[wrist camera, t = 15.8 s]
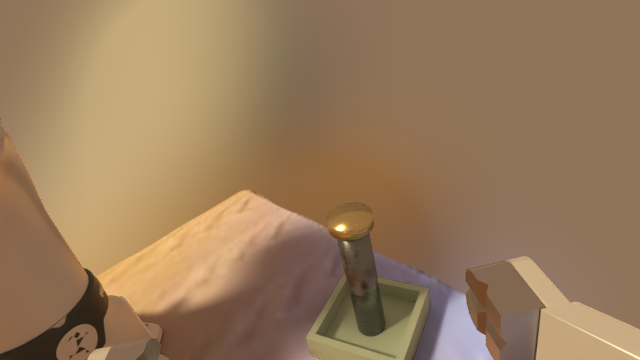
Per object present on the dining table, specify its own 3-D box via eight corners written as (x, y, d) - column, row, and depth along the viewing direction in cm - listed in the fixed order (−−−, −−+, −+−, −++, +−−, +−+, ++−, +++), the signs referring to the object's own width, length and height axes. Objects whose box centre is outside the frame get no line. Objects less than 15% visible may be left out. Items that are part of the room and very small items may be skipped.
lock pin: (346, 335, 43) (318, 226, 36) (361, 305, 46) (338, 200, 39) (383, 346, 41) (361, 233, 34) (396, 314, 44) (378, 205, 37)
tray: (311, 355, 43) (305, 337, 41) (349, 287, 51) (345, 270, 49) (404, 387, 38) (400, 368, 36) (430, 306, 45) (428, 287, 44)
